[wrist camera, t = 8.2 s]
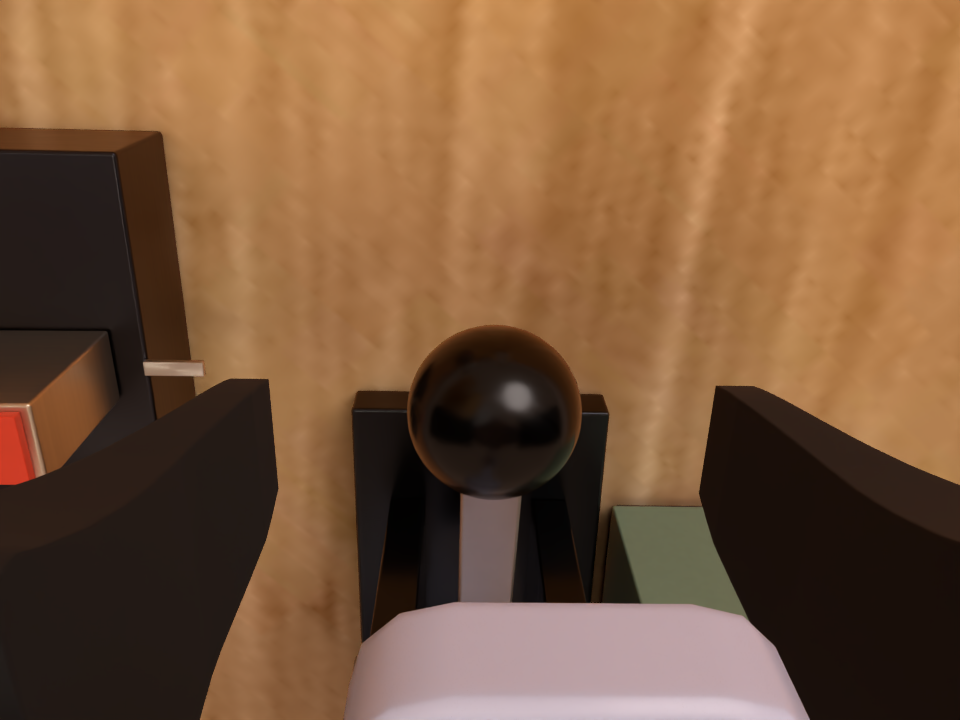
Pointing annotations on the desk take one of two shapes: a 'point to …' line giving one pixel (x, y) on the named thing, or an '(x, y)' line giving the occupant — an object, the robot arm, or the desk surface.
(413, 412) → the lever
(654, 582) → the toaster
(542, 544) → the lever bracket
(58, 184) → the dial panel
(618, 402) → the desk surface
